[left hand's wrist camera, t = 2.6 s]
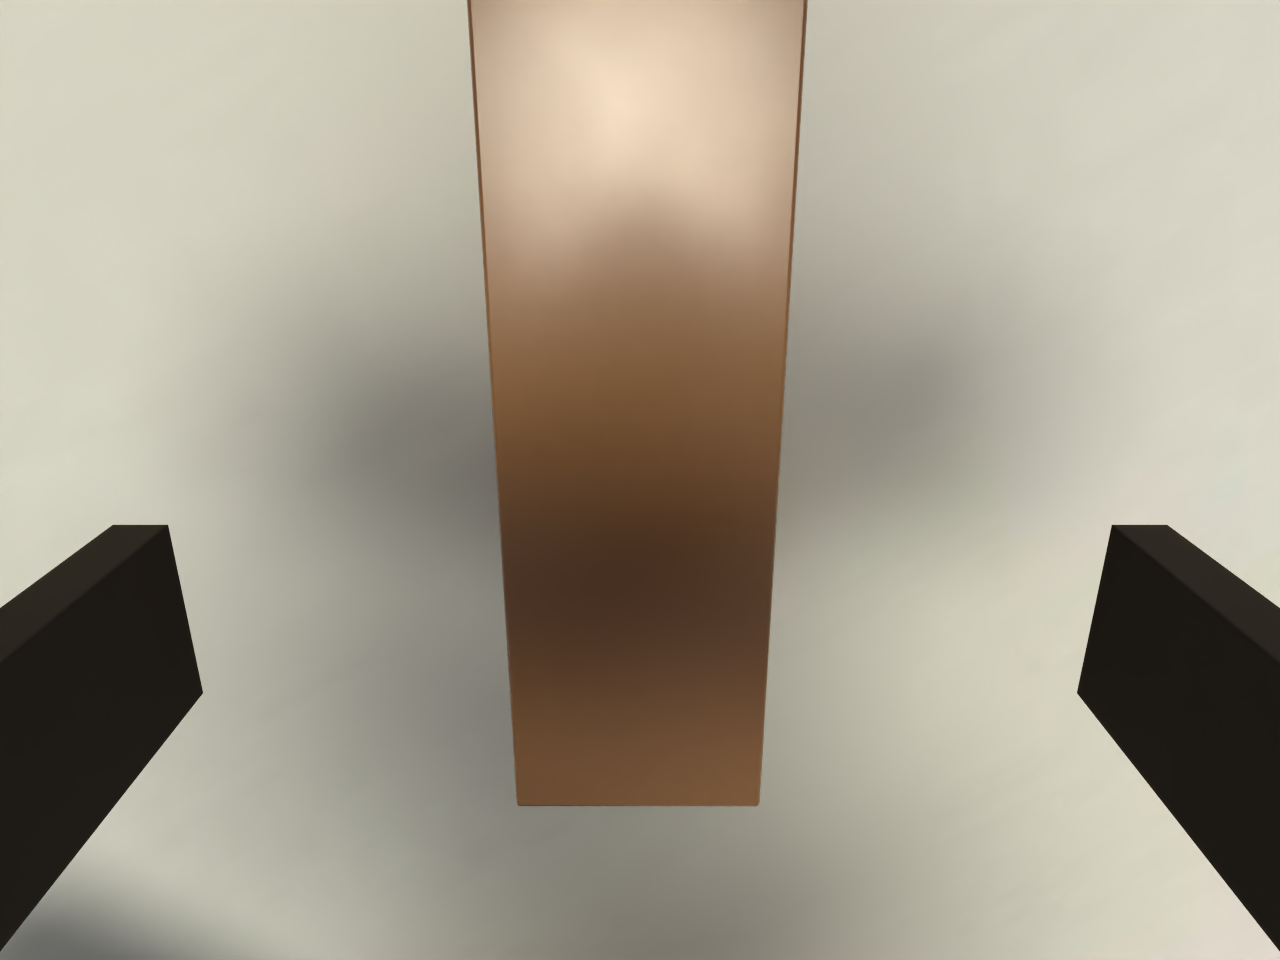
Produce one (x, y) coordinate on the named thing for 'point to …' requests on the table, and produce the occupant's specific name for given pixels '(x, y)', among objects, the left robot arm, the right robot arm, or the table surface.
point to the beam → (637, 380)
